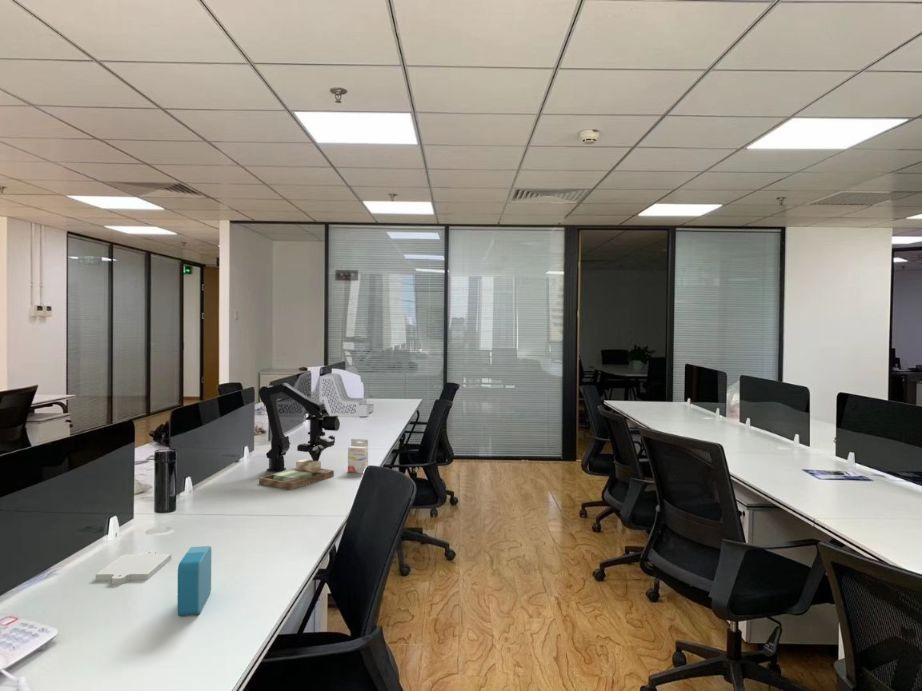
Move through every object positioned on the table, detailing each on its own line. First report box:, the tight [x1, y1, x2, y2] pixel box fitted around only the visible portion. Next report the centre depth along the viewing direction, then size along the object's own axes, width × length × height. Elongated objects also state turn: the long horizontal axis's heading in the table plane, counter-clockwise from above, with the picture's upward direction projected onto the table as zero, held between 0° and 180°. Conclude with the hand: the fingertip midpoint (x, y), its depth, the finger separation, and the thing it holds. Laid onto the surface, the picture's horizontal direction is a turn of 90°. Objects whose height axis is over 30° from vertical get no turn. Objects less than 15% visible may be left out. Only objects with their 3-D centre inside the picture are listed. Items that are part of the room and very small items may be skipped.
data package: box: [176, 545, 212, 616], centre depth 130 cm, size 12×4×12 cm, turn 12°
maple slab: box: [295, 458, 322, 472], centre depth 252 cm, size 10×5×4 cm, turn 62°
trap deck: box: [258, 467, 335, 491], centre depth 243 cm, size 18×26×2 cm
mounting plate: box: [95, 550, 172, 585], centre depth 149 cm, size 18×13×2 cm
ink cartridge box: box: [347, 438, 369, 474], centre depth 258 cm, size 9×5×15 cm, turn 84°
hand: (316, 463), depth 256 cm, fingers closed
